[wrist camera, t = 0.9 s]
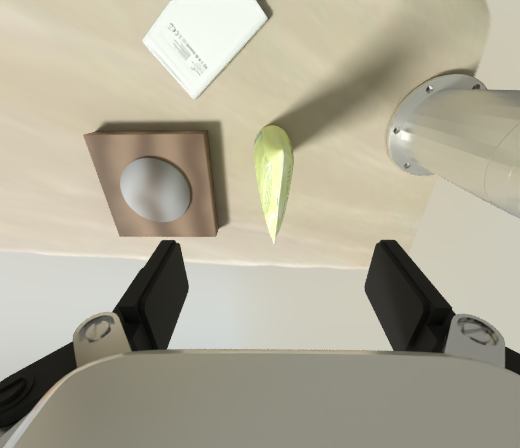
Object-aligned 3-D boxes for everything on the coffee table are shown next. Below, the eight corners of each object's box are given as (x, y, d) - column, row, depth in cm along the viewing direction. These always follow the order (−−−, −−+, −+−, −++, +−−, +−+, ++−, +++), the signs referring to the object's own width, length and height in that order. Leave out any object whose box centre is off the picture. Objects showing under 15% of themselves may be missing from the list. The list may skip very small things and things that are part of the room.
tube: (298, 150, 35) (328, 212, 18) (270, 171, 37) (273, 246, 20) (275, 116, 33) (284, 150, 16) (246, 140, 34) (226, 194, 17)
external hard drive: (267, 21, 28) (196, 99, 32) (217, -56, 25) (146, 42, 29) (268, 17, 27) (193, 100, 31) (214, -64, 24) (140, 40, 28)
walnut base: (207, 130, 34) (202, 134, 31) (218, 228, 42) (215, 238, 39) (94, 131, 34) (80, 135, 32) (127, 228, 42) (118, 238, 40)
